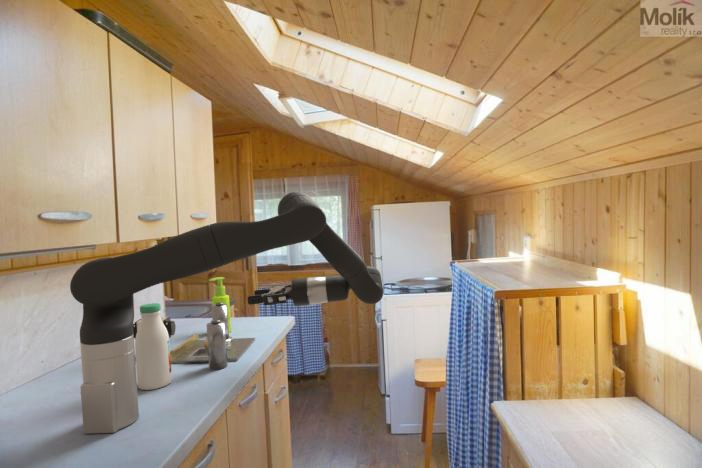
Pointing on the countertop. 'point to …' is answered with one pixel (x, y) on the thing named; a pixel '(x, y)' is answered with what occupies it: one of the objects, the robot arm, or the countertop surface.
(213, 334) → the cylinder
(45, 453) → the countertop surface
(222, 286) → the soap dispenser
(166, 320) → the pneumatic valve
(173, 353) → the carrier plate
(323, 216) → the robot arm
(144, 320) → the milk bottle
